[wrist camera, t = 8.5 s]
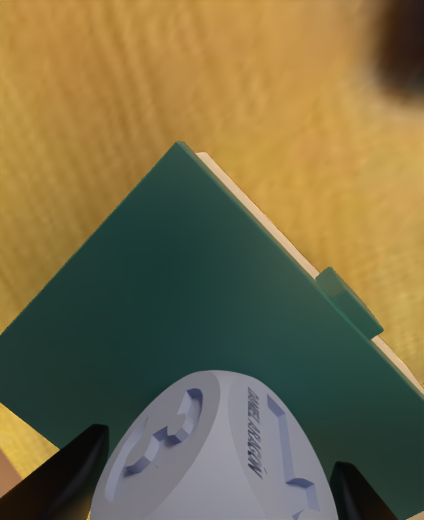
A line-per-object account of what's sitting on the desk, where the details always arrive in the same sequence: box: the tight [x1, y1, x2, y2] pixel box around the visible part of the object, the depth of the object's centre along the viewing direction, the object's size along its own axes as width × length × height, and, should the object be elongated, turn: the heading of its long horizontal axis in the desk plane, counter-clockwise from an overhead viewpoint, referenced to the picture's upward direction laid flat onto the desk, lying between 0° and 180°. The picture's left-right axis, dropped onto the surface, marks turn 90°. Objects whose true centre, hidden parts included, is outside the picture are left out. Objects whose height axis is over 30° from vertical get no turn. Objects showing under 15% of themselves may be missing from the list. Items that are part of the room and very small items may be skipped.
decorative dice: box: [90, 370, 338, 520], centre depth 8 cm, size 4×4×4 cm
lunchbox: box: [0, 141, 424, 520], centre depth 12 cm, size 12×10×5 cm
